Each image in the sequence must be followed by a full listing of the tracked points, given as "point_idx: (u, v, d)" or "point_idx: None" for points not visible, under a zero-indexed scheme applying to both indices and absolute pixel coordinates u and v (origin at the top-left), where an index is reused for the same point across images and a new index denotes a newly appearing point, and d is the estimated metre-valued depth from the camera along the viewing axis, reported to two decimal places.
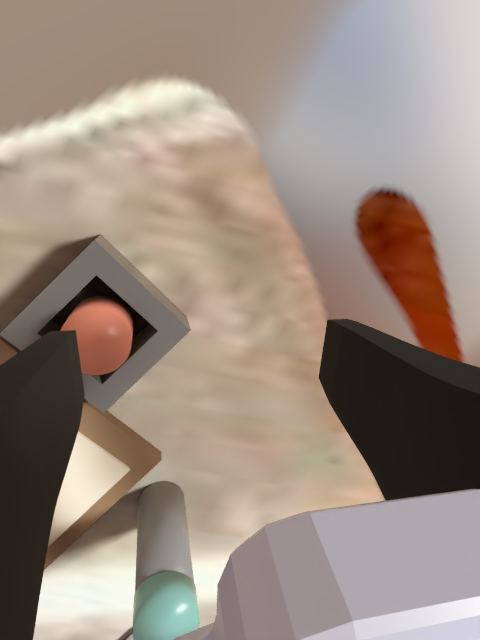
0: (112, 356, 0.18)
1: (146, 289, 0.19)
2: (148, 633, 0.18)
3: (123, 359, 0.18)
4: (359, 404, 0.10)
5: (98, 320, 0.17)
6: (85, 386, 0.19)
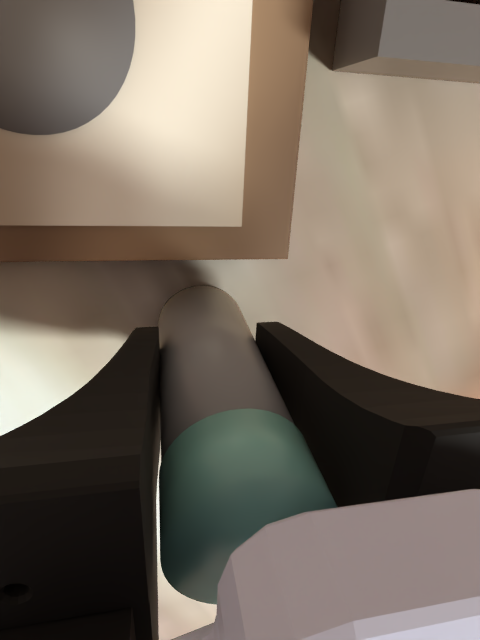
0: None
1: None
2: (215, 529, 0.06)
3: None
4: None
5: None
6: None
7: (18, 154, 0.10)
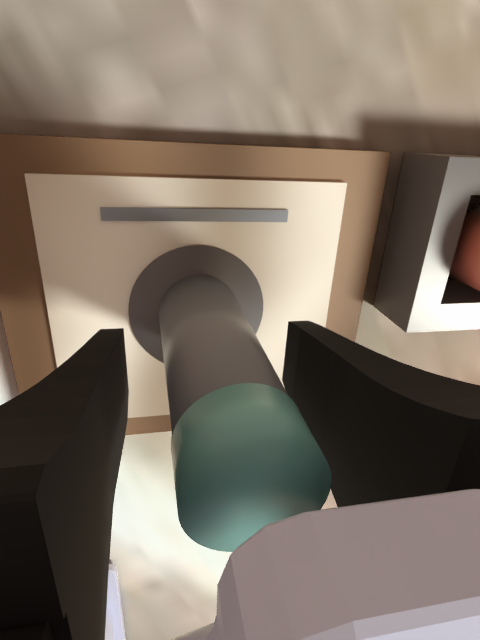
0: None
1: None
2: (224, 485, 0.07)
3: None
4: (315, 408, 0.10)
5: None
6: (429, 291, 0.14)
7: None
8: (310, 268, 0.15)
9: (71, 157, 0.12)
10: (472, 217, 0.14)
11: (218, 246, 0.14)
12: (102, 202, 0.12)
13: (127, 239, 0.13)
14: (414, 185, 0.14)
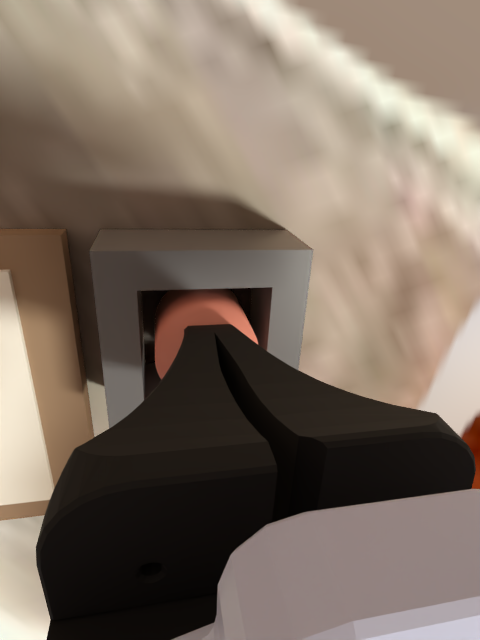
0: None
1: (299, 345, 0.13)
2: None
3: None
4: None
5: None
6: (123, 393, 0.12)
7: None
8: None
9: None
10: (167, 296, 0.13)
11: None
12: None
13: None
14: None
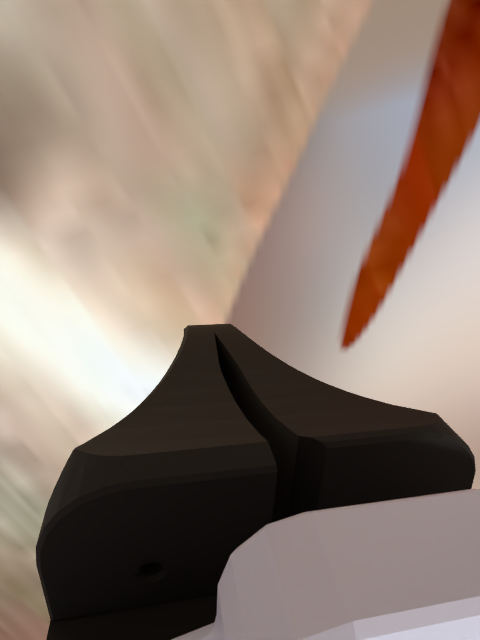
0: None
1: None
2: None
3: None
4: None
5: None
6: None
7: None
8: None
9: None
10: None
11: None
12: None
13: None
14: None
